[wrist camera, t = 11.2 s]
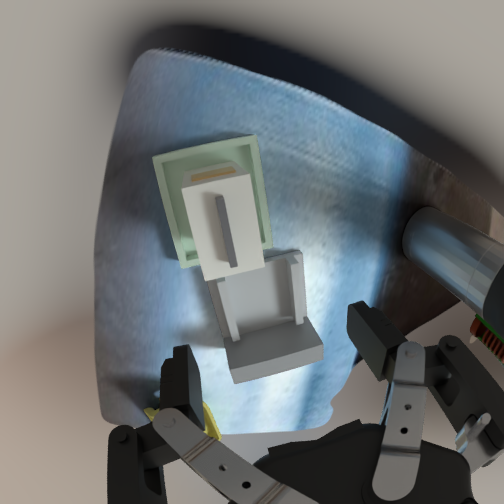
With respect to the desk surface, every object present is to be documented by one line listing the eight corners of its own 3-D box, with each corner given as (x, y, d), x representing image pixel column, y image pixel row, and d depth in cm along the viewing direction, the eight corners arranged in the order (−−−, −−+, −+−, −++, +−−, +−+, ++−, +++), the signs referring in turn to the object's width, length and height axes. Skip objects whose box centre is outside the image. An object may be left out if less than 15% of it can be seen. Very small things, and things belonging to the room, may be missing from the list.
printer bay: (299, 250, 36) (322, 277, 30) (305, 327, 42) (323, 359, 35) (205, 272, 35) (209, 305, 28) (227, 348, 40) (234, 384, 34)
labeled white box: (233, 158, 29) (252, 173, 20) (246, 230, 33) (268, 272, 24) (183, 169, 28) (180, 189, 20) (200, 240, 32) (205, 287, 23)
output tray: (252, 134, 29) (256, 135, 27) (269, 240, 35) (273, 247, 33) (154, 155, 28) (151, 157, 26) (181, 261, 33) (181, 269, 32)
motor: (467, 325, 55) (515, 372, 37) (487, 298, 54) (538, 341, 36) (472, 337, 59) (514, 380, 42) (491, 313, 58) (535, 353, 40)
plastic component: (223, 440, 48) (182, 463, 43) (203, 416, 53) (164, 437, 48) (202, 391, 38) (145, 421, 33) (179, 361, 44) (127, 387, 39)
